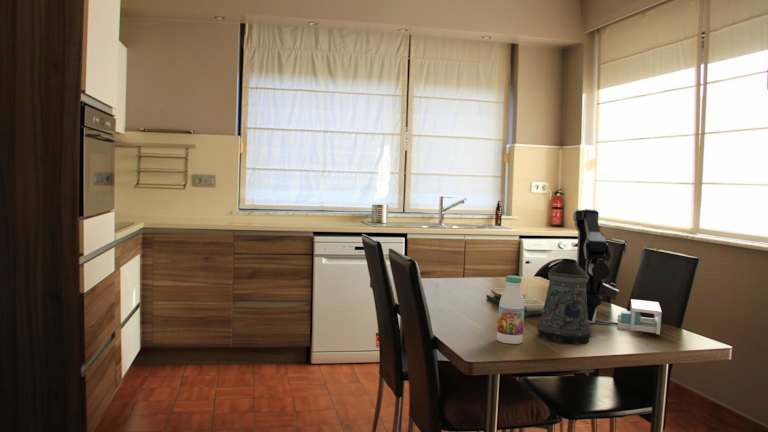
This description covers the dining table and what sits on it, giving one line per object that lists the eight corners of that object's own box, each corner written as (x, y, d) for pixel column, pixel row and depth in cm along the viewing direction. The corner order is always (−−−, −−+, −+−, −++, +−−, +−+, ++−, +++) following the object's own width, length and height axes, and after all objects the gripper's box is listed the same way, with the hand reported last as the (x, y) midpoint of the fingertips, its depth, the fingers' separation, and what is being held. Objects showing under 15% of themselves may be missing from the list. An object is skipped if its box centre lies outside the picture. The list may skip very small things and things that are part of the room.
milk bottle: (493, 337, 196) (498, 273, 194) (518, 338, 196) (522, 274, 195) (500, 344, 188) (504, 278, 187) (525, 345, 189) (530, 279, 187)
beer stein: (553, 345, 190) (559, 263, 188) (523, 329, 209) (528, 254, 207) (601, 344, 194) (607, 264, 193) (567, 329, 213) (572, 255, 211)
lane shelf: (592, 329, 214) (594, 303, 213) (594, 319, 231) (595, 295, 230) (659, 338, 207) (661, 311, 206) (656, 327, 223) (658, 302, 223)
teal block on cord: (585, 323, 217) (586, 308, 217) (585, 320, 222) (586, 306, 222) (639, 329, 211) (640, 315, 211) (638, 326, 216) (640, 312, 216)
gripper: (618, 281, 207) (615, 328, 208) (618, 274, 224) (614, 317, 225) (583, 278, 210) (580, 324, 211) (585, 271, 228) (582, 313, 229)
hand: (590, 319), depth 219 cm, fingers closed on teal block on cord, 3 cm apart
